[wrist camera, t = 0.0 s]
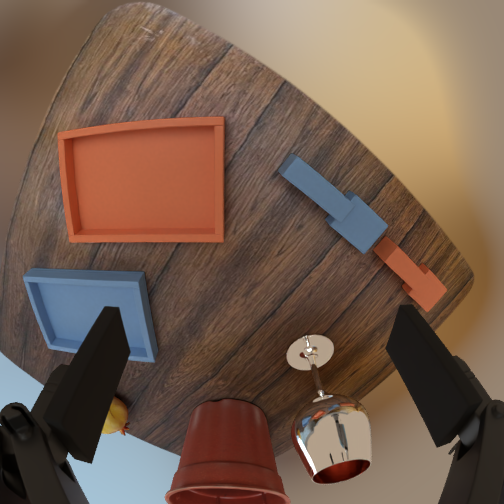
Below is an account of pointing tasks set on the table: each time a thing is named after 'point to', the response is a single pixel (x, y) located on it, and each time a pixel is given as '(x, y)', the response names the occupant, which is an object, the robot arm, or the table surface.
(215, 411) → the flower pot
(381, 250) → the red offset step block
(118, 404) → the fruit
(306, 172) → the blue stepped block
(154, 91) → the table surface
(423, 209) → the table surface
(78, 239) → the red tray
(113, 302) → the blue tray
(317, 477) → the wineglass
